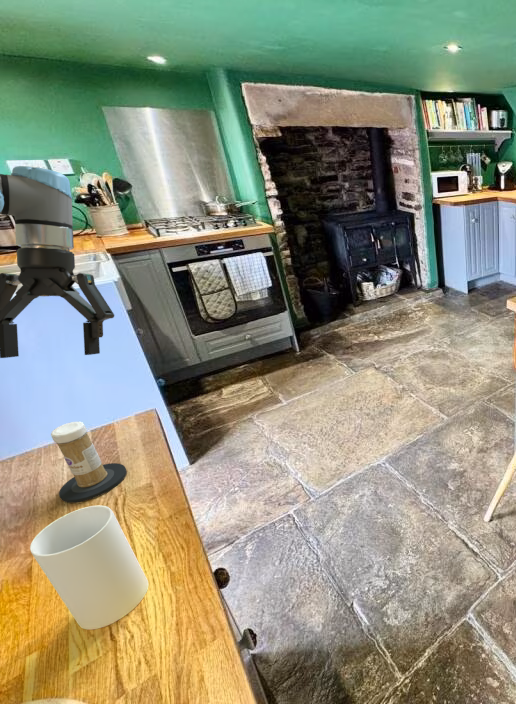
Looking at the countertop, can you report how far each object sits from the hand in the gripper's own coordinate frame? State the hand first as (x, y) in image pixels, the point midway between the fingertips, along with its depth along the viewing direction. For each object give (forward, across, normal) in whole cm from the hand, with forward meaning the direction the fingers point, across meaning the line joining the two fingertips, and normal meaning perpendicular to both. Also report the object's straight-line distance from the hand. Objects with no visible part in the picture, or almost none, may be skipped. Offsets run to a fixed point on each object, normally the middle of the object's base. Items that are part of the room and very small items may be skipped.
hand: (51, 355), depth 80 cm
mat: (+27, -5, -2) cm, 28 cm away
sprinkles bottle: (+27, -5, -2) cm, 27 cm away
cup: (+37, -24, +24) cm, 51 cm away
